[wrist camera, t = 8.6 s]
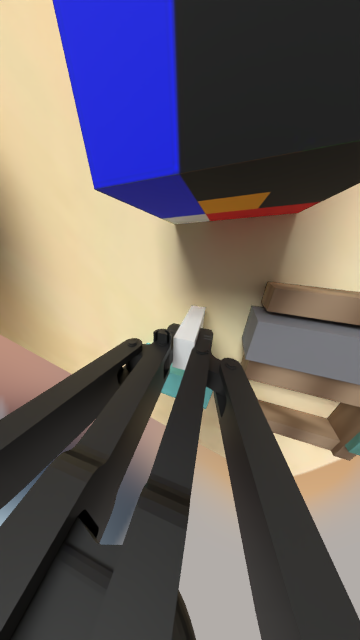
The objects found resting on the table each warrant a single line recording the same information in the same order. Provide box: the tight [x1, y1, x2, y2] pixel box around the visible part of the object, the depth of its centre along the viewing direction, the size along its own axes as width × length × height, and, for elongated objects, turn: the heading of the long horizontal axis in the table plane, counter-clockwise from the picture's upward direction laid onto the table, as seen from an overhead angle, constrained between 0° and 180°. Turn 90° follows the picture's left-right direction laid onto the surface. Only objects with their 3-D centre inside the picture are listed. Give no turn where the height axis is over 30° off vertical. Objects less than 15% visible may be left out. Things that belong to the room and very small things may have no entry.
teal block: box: [147, 343, 213, 409], centre depth 20 cm, size 10×4×4 cm, turn 81°
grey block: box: [242, 306, 360, 385], centre depth 14 cm, size 10×4×4 cm, turn 86°
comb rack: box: [241, 282, 360, 460], centre depth 15 cm, size 13×18×4 cm
